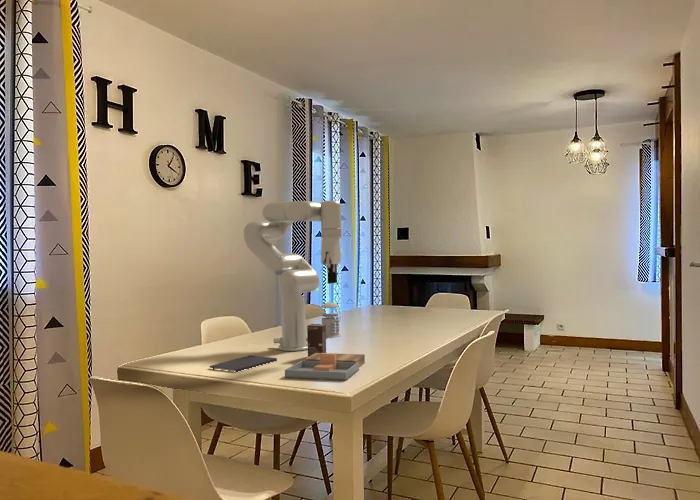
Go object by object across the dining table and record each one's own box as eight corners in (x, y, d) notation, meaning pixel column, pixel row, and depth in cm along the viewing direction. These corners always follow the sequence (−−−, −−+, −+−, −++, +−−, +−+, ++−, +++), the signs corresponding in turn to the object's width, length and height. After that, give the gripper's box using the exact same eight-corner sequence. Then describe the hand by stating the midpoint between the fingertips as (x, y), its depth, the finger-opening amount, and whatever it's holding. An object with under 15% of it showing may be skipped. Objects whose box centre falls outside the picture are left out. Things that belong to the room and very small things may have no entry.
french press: (315, 336, 255) (314, 281, 255) (330, 333, 265) (329, 280, 265) (332, 338, 250) (331, 282, 250) (348, 334, 259) (346, 280, 259)
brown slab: (304, 367, 191) (304, 359, 191) (315, 361, 201) (315, 352, 201) (356, 369, 186) (356, 360, 185) (364, 363, 196) (364, 354, 196)
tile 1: (319, 363, 185) (319, 369, 185) (314, 366, 180) (314, 373, 180) (333, 364, 183) (333, 370, 183) (328, 367, 179) (329, 373, 179)
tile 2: (322, 367, 188) (320, 369, 186) (321, 352, 188) (319, 353, 186) (336, 368, 186) (334, 369, 184) (336, 353, 186) (334, 354, 184)
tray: (284, 377, 177) (284, 369, 177) (301, 367, 191) (301, 360, 191) (346, 380, 171) (346, 372, 171) (358, 370, 185) (358, 362, 185)
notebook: (236, 374, 186) (277, 362, 204) (236, 369, 186) (277, 358, 204) (208, 370, 192) (250, 359, 210) (208, 366, 192) (250, 355, 210)
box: (307, 358, 207) (306, 325, 207) (311, 355, 211) (311, 323, 211) (322, 358, 205) (322, 325, 205) (327, 356, 210) (326, 324, 210)
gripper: (328, 234, 220) (329, 281, 220) (315, 233, 205) (316, 284, 205) (346, 233, 218) (347, 281, 218) (334, 233, 203) (335, 284, 203)
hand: (332, 282), depth 212 cm, fingers closed
